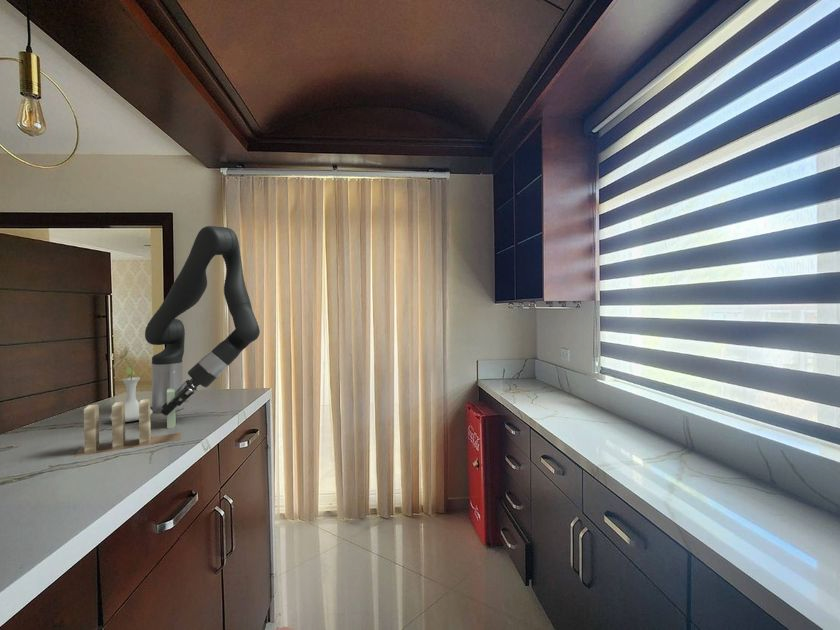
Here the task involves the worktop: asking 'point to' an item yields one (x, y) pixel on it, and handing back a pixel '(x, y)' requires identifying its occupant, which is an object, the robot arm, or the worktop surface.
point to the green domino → (172, 415)
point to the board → (132, 444)
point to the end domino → (91, 428)
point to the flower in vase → (129, 389)
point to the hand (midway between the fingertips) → (164, 411)
